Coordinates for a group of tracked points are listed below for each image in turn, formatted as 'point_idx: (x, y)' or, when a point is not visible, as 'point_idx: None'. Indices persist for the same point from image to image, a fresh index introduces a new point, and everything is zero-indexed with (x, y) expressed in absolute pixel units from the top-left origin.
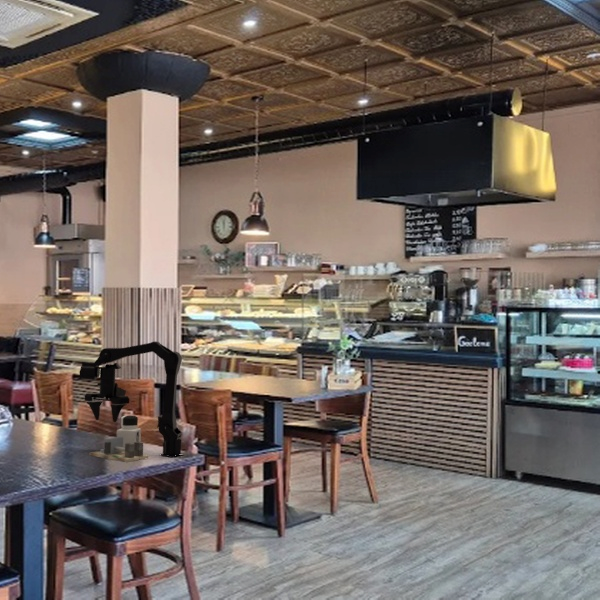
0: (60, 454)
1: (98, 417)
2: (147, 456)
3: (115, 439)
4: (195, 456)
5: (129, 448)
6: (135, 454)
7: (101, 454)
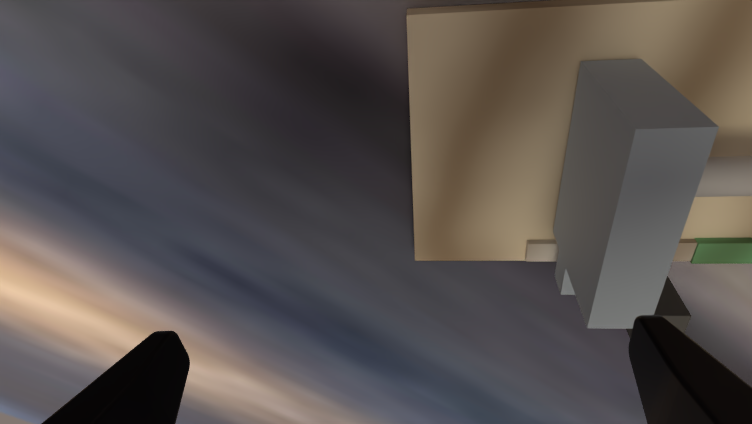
0: (259, 330)
1: (160, 371)
2: None
3: (671, 237)
4: None
5: None
6: None
7: (557, 258)
